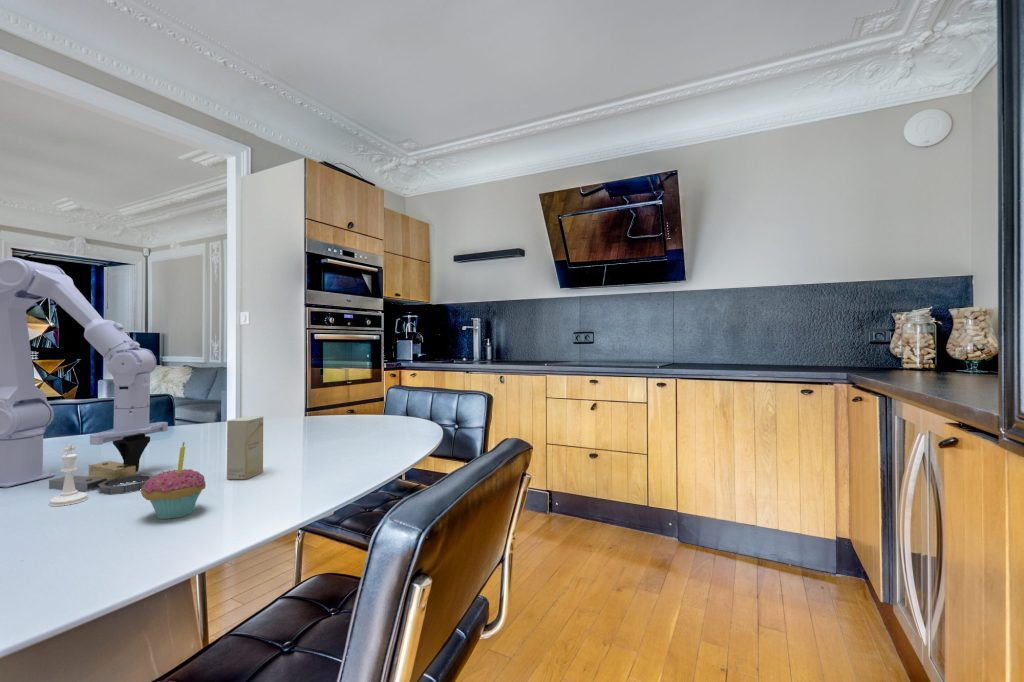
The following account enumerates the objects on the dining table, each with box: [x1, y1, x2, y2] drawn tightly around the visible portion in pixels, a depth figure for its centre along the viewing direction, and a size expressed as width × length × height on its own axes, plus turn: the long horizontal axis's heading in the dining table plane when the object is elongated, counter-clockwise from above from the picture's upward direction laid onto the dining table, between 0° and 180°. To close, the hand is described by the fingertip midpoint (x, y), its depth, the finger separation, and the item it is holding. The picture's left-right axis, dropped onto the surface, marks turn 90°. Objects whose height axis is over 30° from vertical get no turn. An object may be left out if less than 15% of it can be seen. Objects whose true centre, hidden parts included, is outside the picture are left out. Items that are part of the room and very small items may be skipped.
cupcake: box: [140, 441, 207, 520], centre depth 74 cm, size 9×8×12 cm
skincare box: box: [226, 415, 264, 480], centre depth 96 cm, size 6×4×12 cm
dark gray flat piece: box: [48, 474, 155, 495], centre depth 88 cm, size 18×8×2 cm, turn 79°
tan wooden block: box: [88, 460, 137, 480], centre depth 93 cm, size 9×4×2 cm, turn 68°
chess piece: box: [48, 443, 89, 507], centre depth 80 cm, size 5×5×10 cm
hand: (130, 472), depth 94 cm, fingers closed, pressing on tan wooden block
